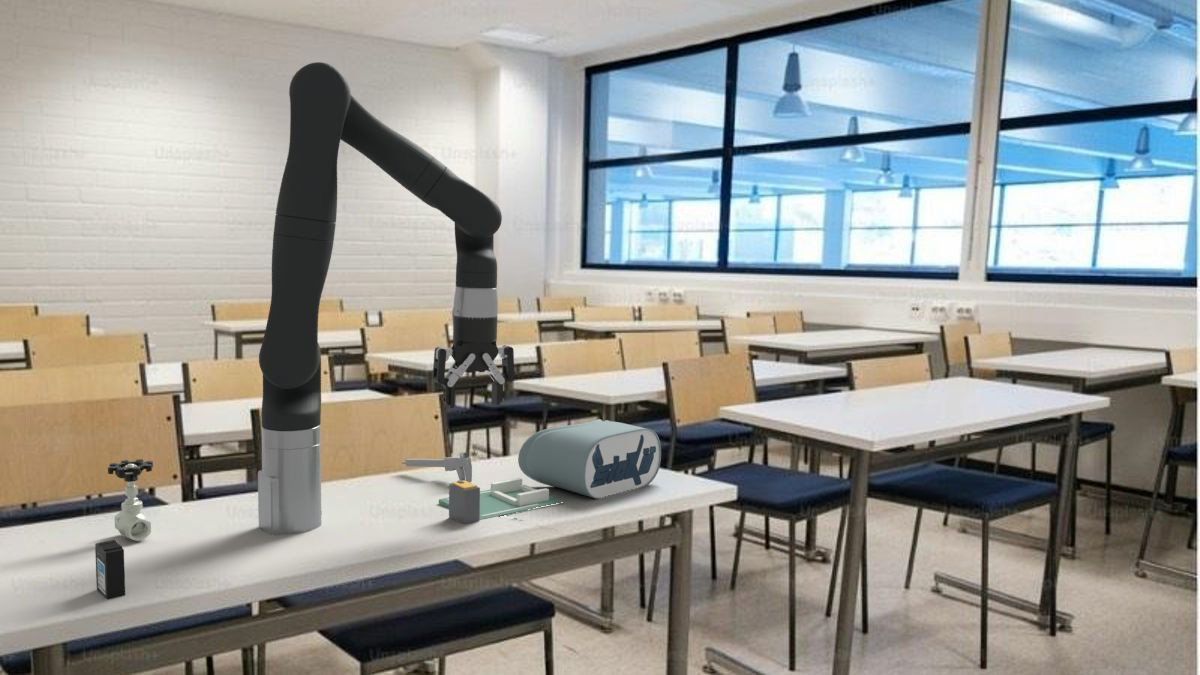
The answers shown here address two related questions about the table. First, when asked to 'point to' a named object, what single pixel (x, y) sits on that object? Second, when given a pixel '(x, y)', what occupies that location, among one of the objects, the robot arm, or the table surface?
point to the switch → (464, 502)
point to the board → (509, 498)
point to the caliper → (447, 465)
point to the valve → (131, 500)
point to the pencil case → (592, 457)
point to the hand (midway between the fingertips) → (473, 406)
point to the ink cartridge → (110, 569)
